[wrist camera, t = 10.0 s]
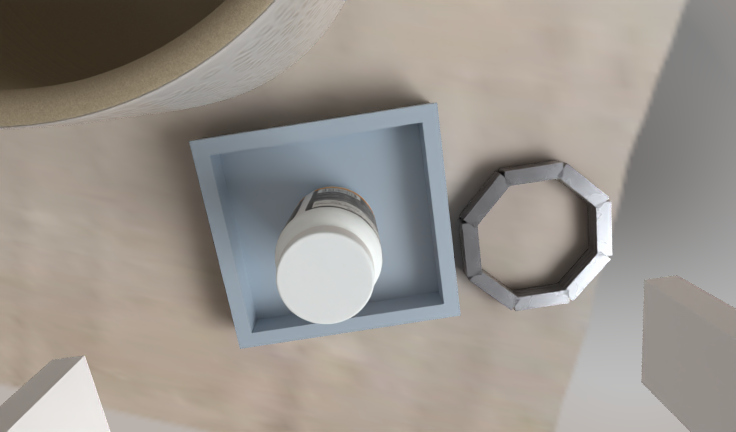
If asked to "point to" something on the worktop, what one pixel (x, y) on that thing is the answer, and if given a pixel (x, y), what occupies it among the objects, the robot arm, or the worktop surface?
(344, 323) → the tray
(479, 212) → the ring
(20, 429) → the robot arm
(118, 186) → the worktop surface
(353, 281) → the pill bottle
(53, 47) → the planter
